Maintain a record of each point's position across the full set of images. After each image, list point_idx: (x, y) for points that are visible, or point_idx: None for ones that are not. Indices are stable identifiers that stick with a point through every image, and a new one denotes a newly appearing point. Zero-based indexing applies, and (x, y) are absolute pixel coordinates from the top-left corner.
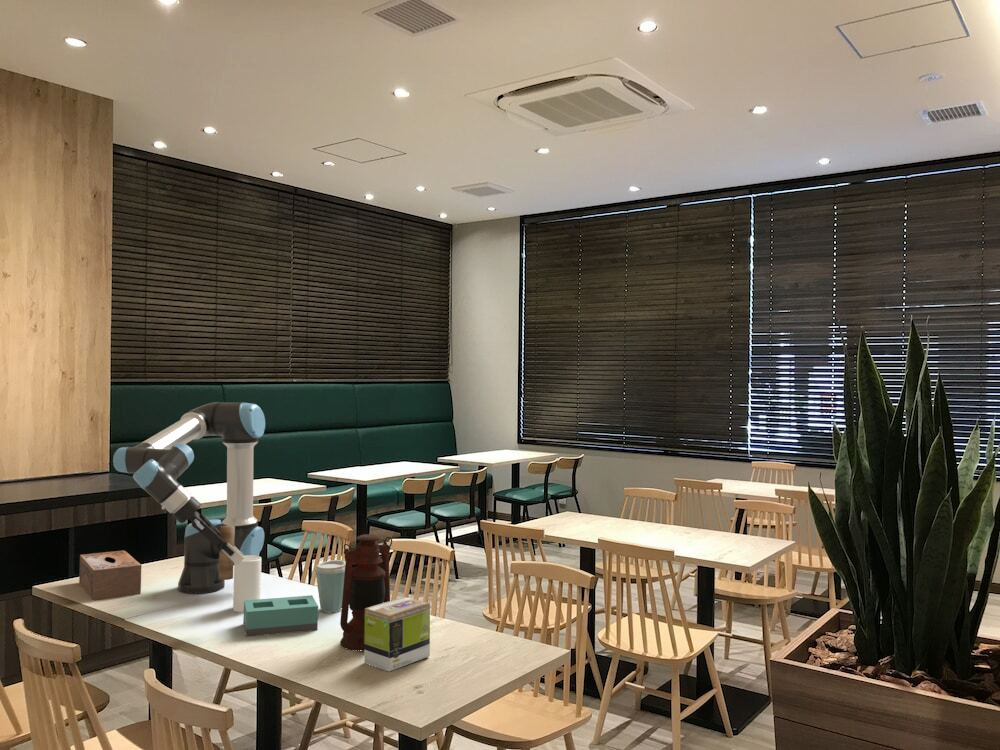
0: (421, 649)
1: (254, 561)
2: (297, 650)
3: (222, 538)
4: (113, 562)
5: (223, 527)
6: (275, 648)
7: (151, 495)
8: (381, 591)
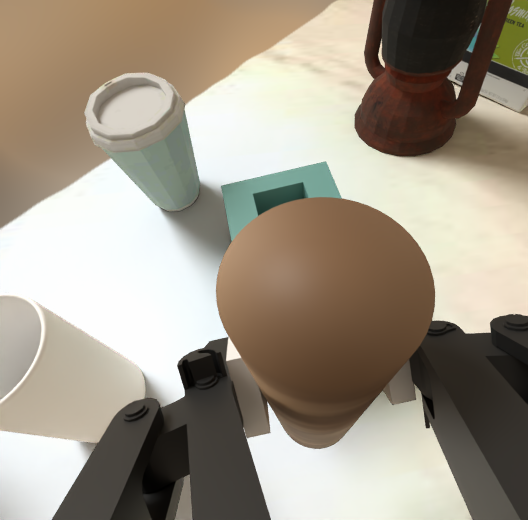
0: None
1: (45, 315)
2: (472, 220)
3: (438, 362)
4: None
5: (392, 325)
6: (468, 266)
7: None
8: None
